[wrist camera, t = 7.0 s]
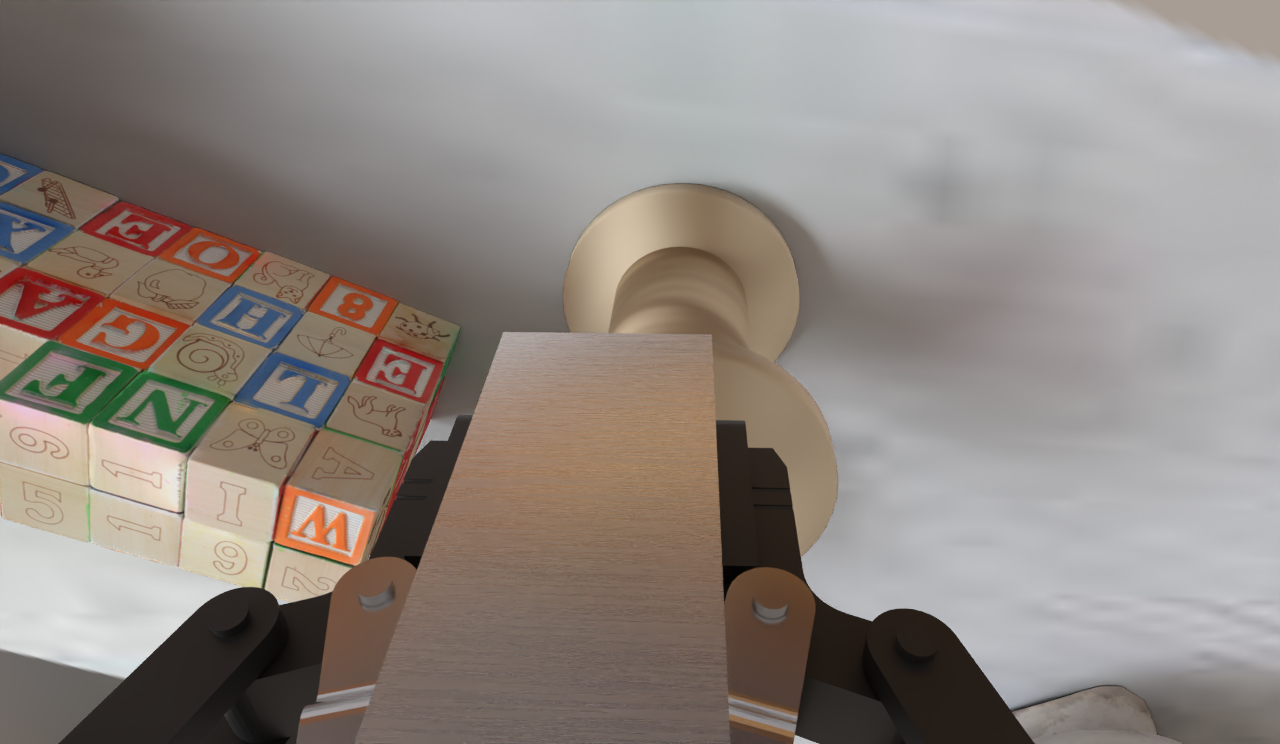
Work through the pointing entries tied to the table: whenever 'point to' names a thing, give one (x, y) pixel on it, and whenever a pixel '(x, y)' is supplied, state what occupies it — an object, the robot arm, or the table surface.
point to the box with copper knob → (571, 558)
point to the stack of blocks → (199, 392)
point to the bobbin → (712, 316)
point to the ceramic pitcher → (1092, 719)
